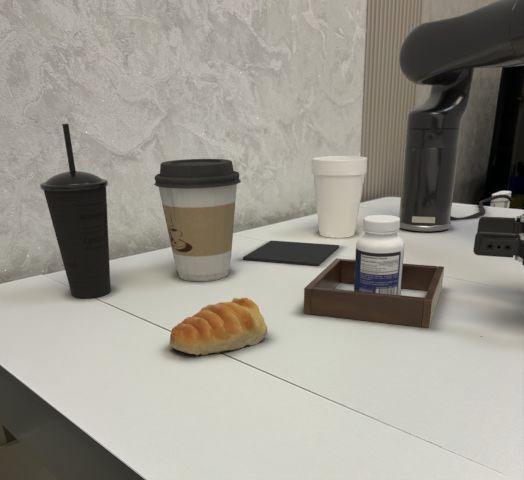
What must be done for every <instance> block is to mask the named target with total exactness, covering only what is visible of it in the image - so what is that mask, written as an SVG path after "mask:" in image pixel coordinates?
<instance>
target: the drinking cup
mask: <svg viewBox="0 0 524 480" xmlns="http://www.w3.org/2000/svg"><path fill="white" fill-rule="evenodd" d="M61 126H62V131H63V138H64V144H65V145H64V146H65V150H66V156H67V157H66V158H67V163H68V164H67V165H68V171H64V172H60V173H57V174H55V175H53V176H51V177H50V178H48V179H47V180H46V181H44V182H41V183H40V186H39V187H40V189H41V190H42V191H43V193H44V198H45V201H46V204H47V209H48V211H49V216H50V220H51V223H52V226H53V229H54V230H53V231H54V234H55V238H56V242H57V245H58V249H59V252H60V257H61V260H62V264H63V268H64V271H65V274H66V278H67V282H68V286H69V289H70V294H71V296H72V297H73V298H76V299H94V298H100V297H104V296H106V295H108V294H109V293H111V291H112V289H111V267H110V266H111V265H110V264H111V263H110V245H109V243H110V242H109V224H108V222H109V221H108V201H107V200H108V199H107V186H109V181H108V179H105V178H102V177H100V176H98V175H96V174H94V173H91V172H87V171H82V170H76V164H75V158H74V151H73V145H72V138H71V137H72V136H71V132H70V125H69V123H62V124H61Z"/></svg>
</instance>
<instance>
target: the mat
mask: <svg viewBox="0 0 524 480" xmlns="http://www.w3.org/2000/svg"><path fill="white" fill-rule="evenodd" d="M339 248H340V245H339V244H330V243H329V244H328V243H327V244H326V243H312V242H298V241H286V240H285V241H283V240H269V241H267V242H266V243H264V244H262V245H261V246H259V247H257V248H256V249H254V250H252V251H251V252H249V253H247V254H246V255H244V256H243V257H242V260H243V261H253V262H266V263H277V264H278V263H279V264H289V265H290V264H291V265H301V266H302V265H303V266H314V267H319V266H320V265H321V264H322V263H323V262H325V261H326V260H327V259H328V258H329V257H330V256H331V255H332V254H333V253H335V252H336V251H337V250H338V249H339Z"/></svg>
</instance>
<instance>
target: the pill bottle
mask: <svg viewBox="0 0 524 480" xmlns="http://www.w3.org/2000/svg"><path fill="white" fill-rule="evenodd" d="M400 229H401V228H400V218H399V216H396V215H390V214H373V215H367V216H364V217H363V221H362V231H363V232H364V234H363V235H362V236H360V237H359V238H357V240H356V243H355V258H354V260H355V280H354V284H353V291H361V292H371V293H382V294H392V295H401V294H402V293H401V292H402V288H401V282H402V269H403V264H404V255H405V241H404V239H403V238H402V237H401V236H399V235H398V233H399V231H400Z"/></svg>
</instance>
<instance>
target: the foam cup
mask: <svg viewBox="0 0 524 480" xmlns="http://www.w3.org/2000/svg"><path fill="white" fill-rule="evenodd" d="M367 173H368V157H366V156H359V155H358V156H357V155H327V156H318V157H317V156H316V157H312V158H311V174H312V178H313V186H314V187H313V188H314V197H315V206H316V215H317V224H318V231H319V235H320V236H321V237H325V238H333V239H336V238H338V239H339V238H342V239H343V238H349V237H353V236H355V234H356V230H357V225H358V218H359V213H360V207H361V200H362V195H363V190H364V183H365V179H366V174H367Z"/></svg>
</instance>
